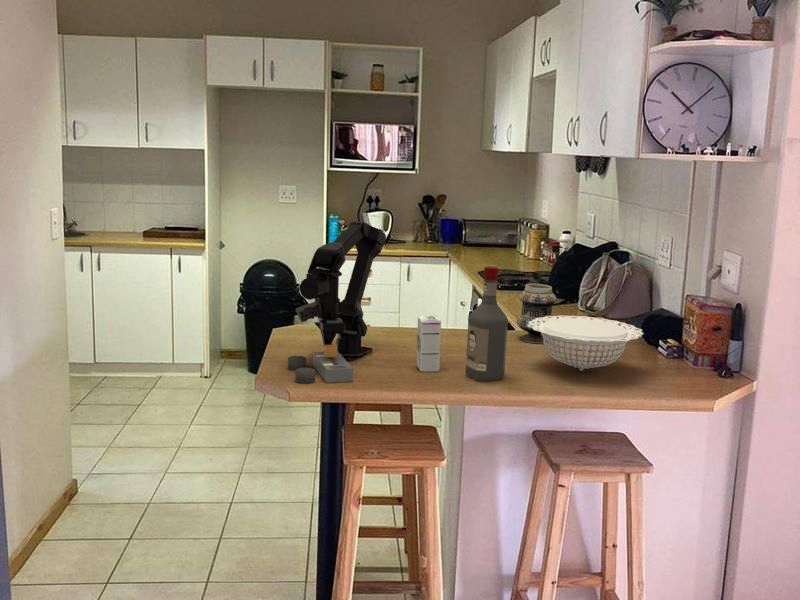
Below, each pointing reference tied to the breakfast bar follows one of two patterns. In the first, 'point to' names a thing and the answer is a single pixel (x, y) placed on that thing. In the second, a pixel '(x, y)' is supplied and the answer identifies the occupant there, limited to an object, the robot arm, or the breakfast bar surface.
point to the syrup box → (428, 343)
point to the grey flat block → (333, 368)
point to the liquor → (487, 334)
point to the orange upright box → (330, 350)
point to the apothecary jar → (535, 309)
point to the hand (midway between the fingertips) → (326, 349)
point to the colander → (584, 338)
